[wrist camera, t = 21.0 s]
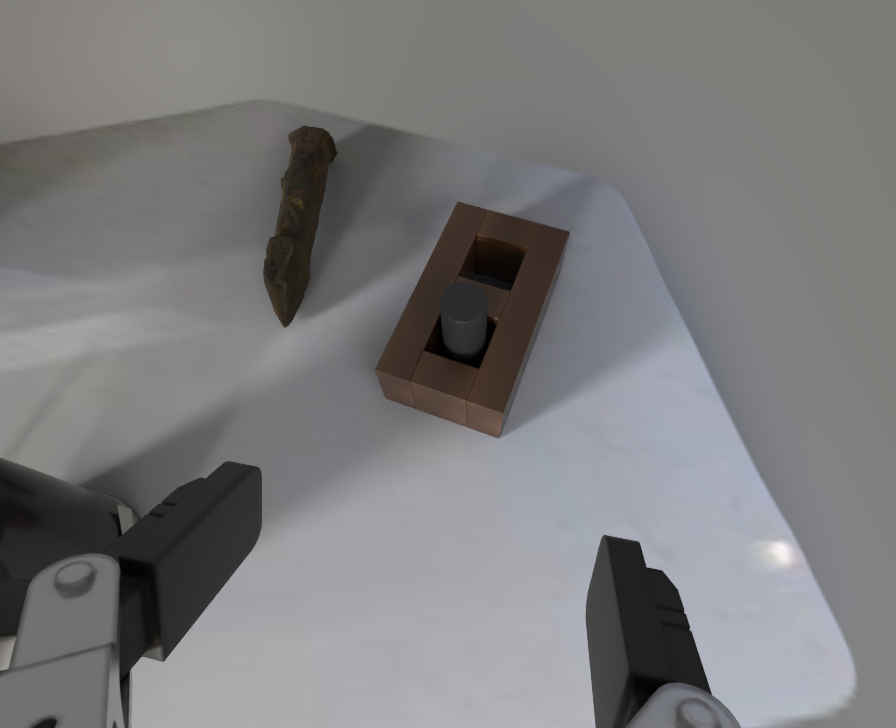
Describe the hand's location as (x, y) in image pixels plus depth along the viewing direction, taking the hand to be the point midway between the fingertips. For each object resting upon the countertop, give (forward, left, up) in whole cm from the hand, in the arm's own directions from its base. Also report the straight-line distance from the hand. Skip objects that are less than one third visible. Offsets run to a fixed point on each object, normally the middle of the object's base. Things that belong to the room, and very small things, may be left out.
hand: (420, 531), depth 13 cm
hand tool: (-22, +22, -25) cm, 40 cm away
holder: (-5, +18, -25) cm, 31 cm away
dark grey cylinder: (-5, +15, -25) cm, 30 cm away
